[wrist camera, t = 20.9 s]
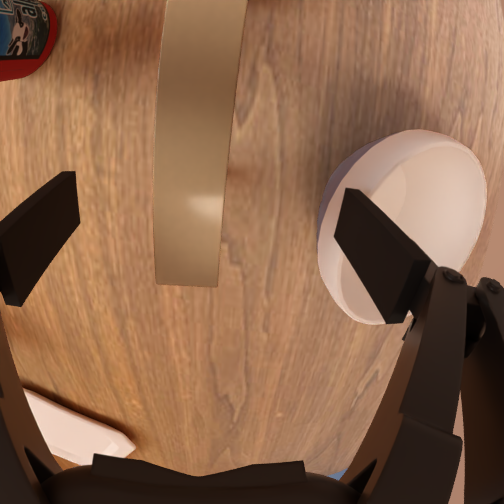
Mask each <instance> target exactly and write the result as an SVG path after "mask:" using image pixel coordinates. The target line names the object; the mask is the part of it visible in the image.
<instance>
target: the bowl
mask: <svg viewBox="0 0 504 504" xmlns="http://www.w3.org/2000/svg"><path fill="white" fill-rule="evenodd" d="M345 188H353V189H359V190H360V191H362V192H363V193H364V194H365V195H366V196H367V197H368V198H369V199H370V200H371V201H372V202H373V203H375V204H376V205H377V206H378V207H379V208H380V209H381V210H382V211H383V212H384V213H385V214H386V215H387V216H388V217H389V218H390V219H391V220H392V221H393V222H394V223H395V224H396V225H397V226H398V227H399V228H400V229H401V230H402V231H403V232H404V233H405V234H406V235H407V236H408V237H409V238H410V239H412V240H413V241H415V242H416V243H417V245H418V246H419V247H420V248H421V249H422V250H423V251H424V252H425V254H427V255H428V256H429V257H430V258H431V259H432V260H433V261H434V263H435V264H436V265H437V266H438V267H440V266H444V267H449V268H451V269H454V270H456V271H457V272H460V271H461V269H462V268H463V266H464V264H465V263H466V261H467V260H468V258H469V256H470V254H471V252H472V250H473V248H474V246H475V244H476V242H477V240H478V237H479V234H480V232H481V229H482V225H483V221H484V217H485V212H486V204H487V185H486V180H485V175H484V171H483V168H482V166H481V164H480V162H479V159H478V158H477V156H476V155H475V154H474V153H473V152H472V150H471V149H470V148H468V147H466V146H465V145H463V144H462V143H460V142H458V141H457V140H455V139H453V138H452V137H450V136H448V135H445V134H441V133H438V132H434V131H429V130H424V129H415V130H405V131H402V132H398V133H393V134H391V135H388V136H385V137H383V138H380V139H378V140H375V141H373V142H370V143H368V144H366V145H365V146H363V147H361V148H360V149H358V150H357V151H355V152H354V153H353V154H352V155H350V156H349V157H347V158H346V159H345V160H344V161H343V162H342V163H341V164H340V165H339V166H338V167H337V168H336V170H335V171H334V172H333V173H332V175H331V177H330V179H329V181H328V182H327V184H326V187H325V190H324V193H323V198H322V201H321V204H320V208H319V214H318V220H317V254H318V266H319V270H320V274H321V278H322V280H323V281H324V283H325V285H326V287H327V289H328V290H329V292H330V294H331V296H332V297H333V299H334V301H335V302H336V304H337V305H338V306H339V307H340V308H341V309H342V310H343V311H344V312H345V313H346V314H347V315H349V316H350V317H351V318H352V319H354V320H356V321H358V322H361V323H364V324H373V325H377V324H386V323H385V321H384V319H383V317H382V316H381V314H380V312H379V310H378V309H377V307H376V305H375V304H374V302H373V300H372V298H371V297H370V295H369V293H368V292H367V290H366V288H365V287H364V285H363V283H362V282H361V280H360V278H359V277H358V275H357V274H356V272H355V270H354V269H353V267H352V265H351V264H350V262H349V261H348V259H347V257H346V256H345V254H344V253H343V251H342V250H341V248H340V246H339V245H338V243H337V242H336V240H335V239H334V233H335V229H336V225H337V221H338V217H339V213H340V209H341V205H342V201H343V196H344V192H345ZM409 315H412V313H411V312H410V310H409V311H408V313H407V315H406V317H407V316H409Z"/></svg>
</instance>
